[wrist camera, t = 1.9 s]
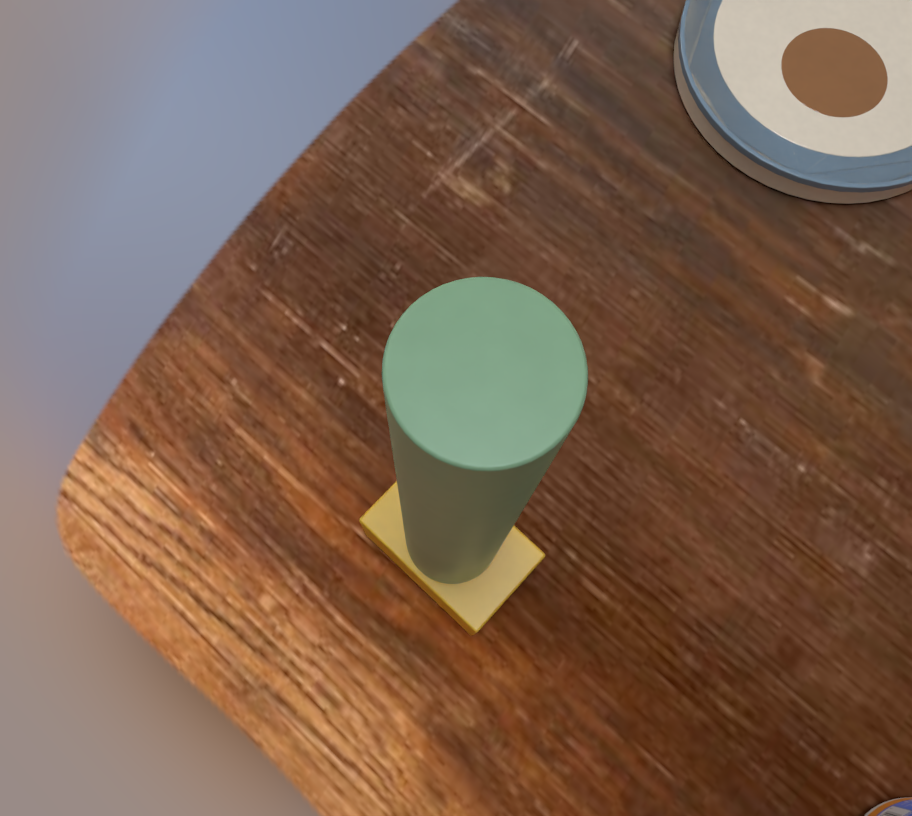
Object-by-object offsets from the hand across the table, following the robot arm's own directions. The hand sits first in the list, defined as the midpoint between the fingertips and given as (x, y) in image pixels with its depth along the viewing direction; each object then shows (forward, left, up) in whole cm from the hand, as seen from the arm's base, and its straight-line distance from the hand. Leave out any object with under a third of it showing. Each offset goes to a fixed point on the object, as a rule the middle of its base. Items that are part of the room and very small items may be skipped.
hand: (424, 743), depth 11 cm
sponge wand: (-5, +3, -21) cm, 21 cm away
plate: (-18, +28, -21) cm, 39 cm away
